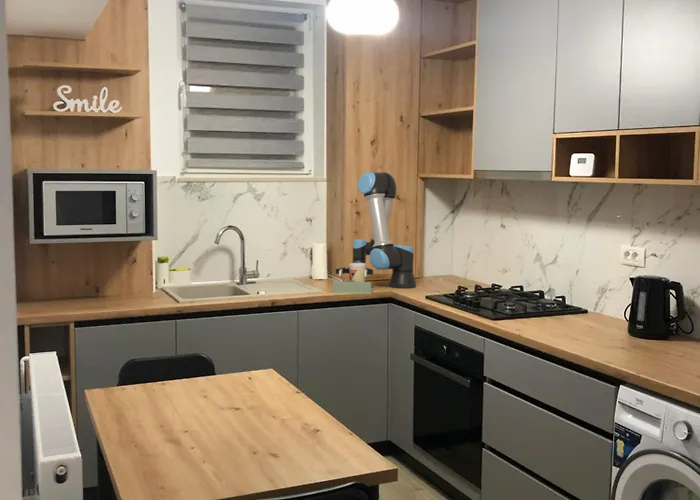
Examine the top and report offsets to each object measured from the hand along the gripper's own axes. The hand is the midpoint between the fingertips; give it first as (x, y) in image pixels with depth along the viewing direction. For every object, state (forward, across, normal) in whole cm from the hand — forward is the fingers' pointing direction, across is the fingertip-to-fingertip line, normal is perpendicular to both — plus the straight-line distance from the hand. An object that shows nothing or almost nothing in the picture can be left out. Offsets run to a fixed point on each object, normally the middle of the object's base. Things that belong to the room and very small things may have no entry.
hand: (352, 273), depth 397 cm
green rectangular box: (-3, 0, -10) cm, 11 cm away
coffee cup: (-4, -2, -8) cm, 9 cm away
